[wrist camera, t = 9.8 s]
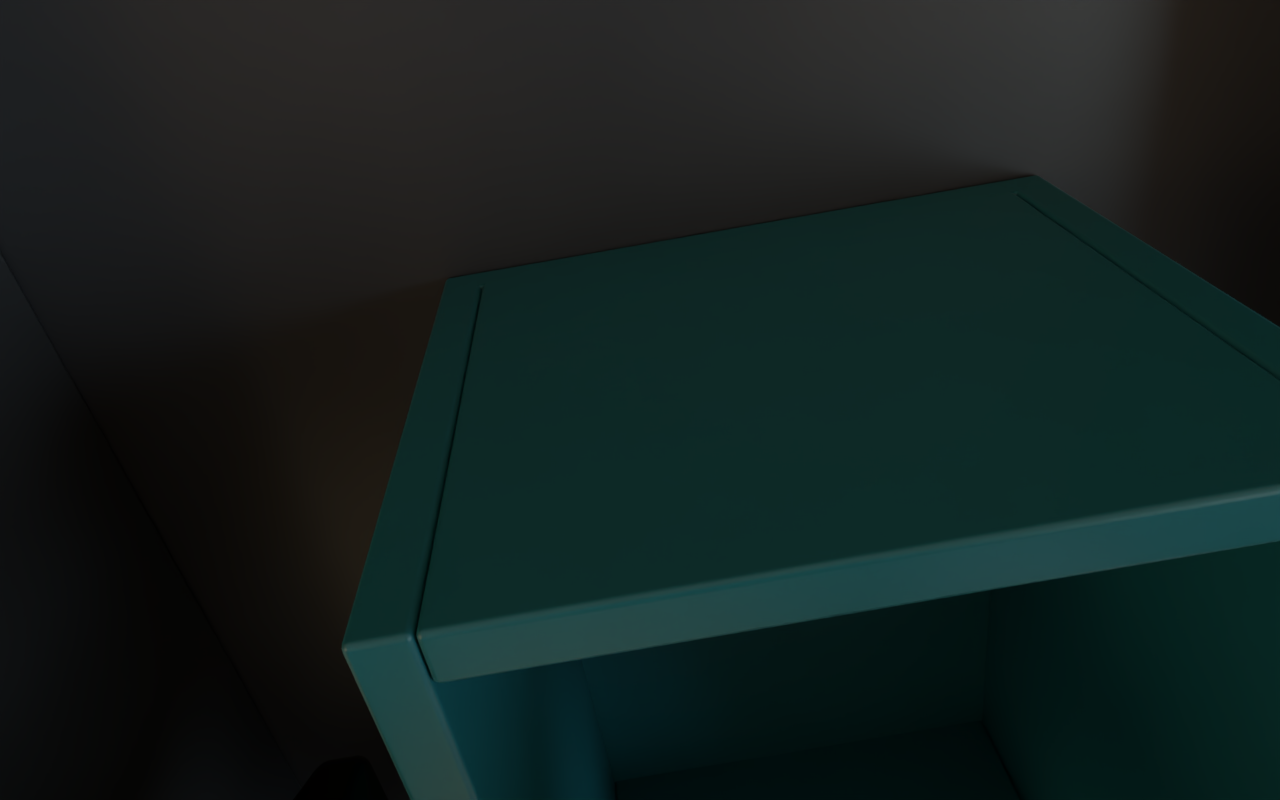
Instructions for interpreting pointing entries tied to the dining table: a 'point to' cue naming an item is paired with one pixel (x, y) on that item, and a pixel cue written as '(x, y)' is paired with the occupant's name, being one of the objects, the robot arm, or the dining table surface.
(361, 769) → the robot arm
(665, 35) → the tray
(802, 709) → the teal bin
